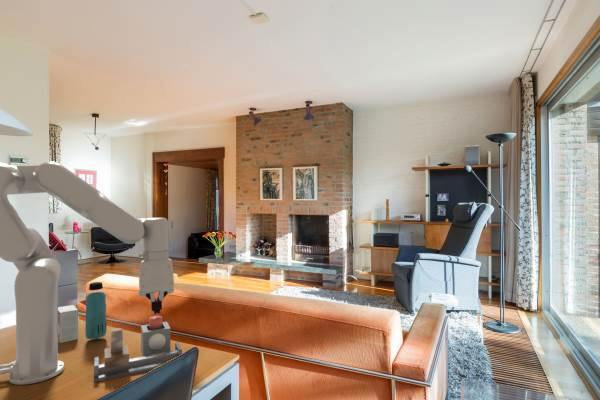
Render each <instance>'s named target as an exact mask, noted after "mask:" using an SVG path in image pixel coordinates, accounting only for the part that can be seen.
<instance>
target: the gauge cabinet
mask: <svg viewBox="0 0 600 400" xmlns="http://www.w3.org/2000/svg"><path fill="white" fill-rule="evenodd" d="M140 351H141V357H142V356H148V355H153V354H158V353H163V352H168V351H171V327H170V324H169V323H168V321H162V327H161V328H158V329H149V324H144V325H141V326H140Z"/></svg>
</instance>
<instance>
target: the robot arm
mask: <svg viewBox="0 0 600 400" xmlns="http://www.w3.org/2000/svg"><path fill="white" fill-rule="evenodd" d="M39 193H40V194H43V193H46V194H48V195H49V196H51V197H53V198H54V199H56V200H57V201H59V202H61V203H63V204H64V205H65V206H67V207H68V208H70V209H71V210H72V211H74V212H76V213H77V214H78V215H80V216H82V217H83V218H85V219H87V220H88V221H90V222H92V223H94V224H95V225H96V226H98V227H100V228H101V229H102V230H104V231H105V232H106V233H109V234H110V235H111V236H113V237H115V238H116V239H117V240H119V241H120V242H123V243H124V244H128V245H129V244H130V245H131V244H132V245H133V244H136V243H138V242H140V241H141V240H142V241H143V251H142V252H141V253H138V258H139V259H140V258H141V259H143V260H141V261H140V268H139V276H138V277H139V278H138V279H139V281H138V287H139V288H138V290H139V291H138V296H139V297H142V298H147V299H149V300H150V302H151V303H150V304H151V307H150V308H151V312H153V314H154V315H157V314H160V313H161V311H162V309H163V300H164V298H165V297H166V296H167V295H169V294H172V293H174V292H175V289H174V287H175V281H174V280H175V278H174V267H173V262H172V259H171V258H169V256H170V255H169V249H170V248H169V221H168V219H167V218H166V217H148V218H140V217H139V218H138V217H135V216H133V215H131V214H130V213H129V212H128V211H125V210H124V209H123V208H121V207H120V206H118V205H117V204H115V202H114V201H111V200H110V199H109V198H108V197H107V196H105V194H104V193H102V192H101V190H99V189H97V188H95V187H94V186H93V185H91V184H89V183H88V182H87V181H85V180H84V179H83V178H81V177H79V176H78V175H77V174H75V173H74V172H72V171H71V170H69V169H68V168H67V167H65V166H64V165H62V164H60V163H59V162H55V161H46V162H45V161H44V162H43V163H40V164H37V165H36V164H33V165H31V164H30V165H28V164H27V165H9V164H7V163H3V162H0V258H1V260H3V261H5V262H8V263H13V265H14V266H15V268H16V269H17V270H18V272H17V274H16V277H15V280H14V285H13V287H14V297H15V323H16V324H15V325H16V326H15V360H13V361H11V362H10V363H6V364H5V363H3V364H0V375H5V374H8V382H9V383H10V384H13V385H30V384H31V385H32V384H37V383H40V382H43V381H46V380H49V379H51V378H54V377H56V376H57V375H59V374H61V373H62V372H63V371H64V369H65V363H64V361H62V360H60V359H59V341H58V307H59V295H58V294H59V291H58V290H59V287H58V285H59V281H60V277H61V274H62V267H61V265H60V262H59V261H58V260H57V258H56V256H55V255H54V253H53V252H52V250H51V249H50V247H49V245H48V244H47V242H46V241H45V239H44V238H43V236H42V235H41V234H40V232H38V231H37V229H35V228H33V227H31V226H27V225H26V224H25V223H24V221H23V220H22V218H21V217H20V215H19V214H18V212H17V210H16V208H14V206H13V205H12V203H11V202H10V201H9V197H8V196H10V195H25V194H39ZM155 293H158V294H157V298H156V296H155Z"/></svg>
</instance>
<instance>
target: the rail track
mask: <svg viewBox="0 0 600 400" xmlns="http://www.w3.org/2000/svg"><path fill="white" fill-rule="evenodd" d="M181 354H182V355H183V349H182V347H181V345H180V342H175V343H174V350H170V351H168V352H163V353H158V354H153V355H148V356H142V355H141V356H137V357H133V358H129V365H124V366H119V367H114V368H109V369H105V363H101V364H99V363H100V359H99V356H96V357H94V363H93V364H94V365H93V369H94V371H93V373H94V374H93V375H94V376H93V383H98V382H97V381H99V382H102V381H101V380H104V381H107V380H106V379H109V380H111V379H110V378H113V379H118V378H121V377H127V376H131V375H136V374H140V373H141V374H142V373H145V372H151V371H153V370H152V369H154V368H156V367H158V366H160V365H162V364H164V363H166V362H167V361H169V360H171V359H173V358H175V357H177V356H179V355H181ZM117 377H118V378H117Z"/></svg>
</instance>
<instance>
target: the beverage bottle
mask: <svg viewBox="0 0 600 400" xmlns="http://www.w3.org/2000/svg"><path fill="white" fill-rule="evenodd" d="M88 287H89V288H88V290H89V291H92V292H89V293H87V294H86V296H85V323H84V324H85V325H84V326H85V328H84V333H85V339H87V340H96V339H101V338H103V337H105V336H106V334H107V331H108V330H107V329H108V327H107V325H108V324H107V306H108V305H107V294H106V292H104V291H102V289H103V288H104V287H103V283H102V282H100V281H95V282H91V283H89V285H88ZM99 290H101V291H99Z"/></svg>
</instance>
